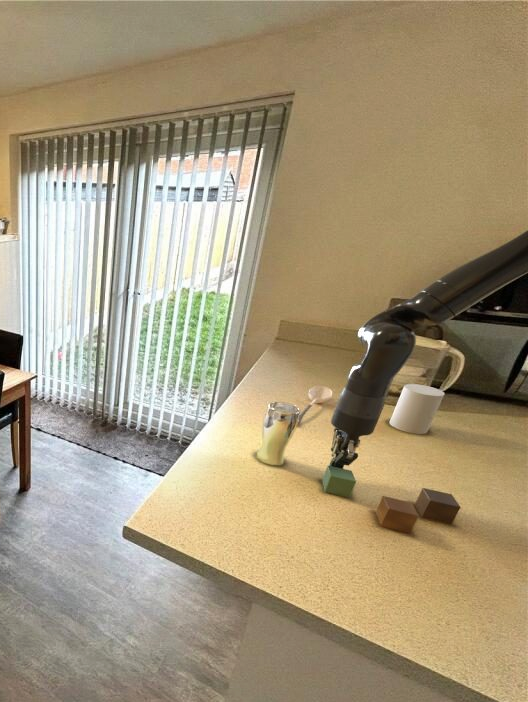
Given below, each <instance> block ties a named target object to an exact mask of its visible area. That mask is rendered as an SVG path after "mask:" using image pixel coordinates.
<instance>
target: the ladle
mask: <svg viewBox="0 0 528 702" xmlns="http://www.w3.org/2000/svg"><path fill="white" fill-rule="evenodd" d="M332 397H333V391H332V389H330V388H329V387H326V386H324V385H323V386H321V385H318V386H317V385H316V386H314V387H311V388H309V391H308V398H309V400H310V401H311V402H310V403H309V404H308V405H306V406H305V408H304V409H303V410H302V411H301V412H300V415H299V420H298V424H297V426H299V425H300V423H301V421H302V419H303V418H304V416H305V415H306V413H307V412H308V411H309V410H310V409H311V408H312V406H313V405H314V404H315V403H316V404H323V403H326V402H327V401H329V400H330V399H331V398H332Z"/></svg>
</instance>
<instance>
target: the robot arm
mask: <svg viewBox="0 0 528 702" xmlns="http://www.w3.org/2000/svg"><path fill="white" fill-rule="evenodd" d="M526 274H528V229H527V230H526V231H524V232H523V233H521V234H518V236H516V237H514V238H513V239H511V240H509V241H507V242H506V243H504V244H502V245H500V246H498V247H496V248H493V249H492V250H490V251H488V252H486V253H484V254H482V255H480V256H478V257H476V258H473V259H471V260H469V261H468V262H465V263H464V264H462V265H460V266H458V267H456V268H455V269H452V270H451V271H449V272H447V273H446V274H445V275H443V276H441V277H440V278H438V279H437V280H435V281H434V282H432V283H431V284H430V285H427V286H426V287H424V289H422V290H421V291H419V292H418V293H416V294H415V295H414V296H412V297H411V298H409V299H407V300H405V301H402V302H400V303H398V304H395V305H394V306H391V307H389V308H387V309H385V310H383V311H381V312H380V313H377V314H375V315H374V316H372V317H371V318H370V319H368V320H367V321H366V322H365V323H364V324H363V325H362V326H361V327H360V328H359V330H358V332H357V341H358V342H359V344H360V346H362V347H363V348H365V349H366V350H367V351H366V354H365V356H364V358H363V360H362V361H360V362H357V363H355V364H354V365H353V366H352V367H351V369H350V371H349V374H348V376H347V379H346V381H345V385H344V387H343V390H342V391H341V392H340V394H339V397H338V401H337V403H336V405H335V409H334V411H333V414H332V416H331V420H330V423H331V425H332V426H333V428H334V429H333V436H332V443H331V448H330V452H332V453H331V455H330V456H331V460H330V463H329V465H328V466H332V467H337V468H342V469H344V466H347V467H349V466H350V465H351V464H353V462H355V461H356V460H357V459H358V457H359V453H358V452H356V450H357V448H359V447H360V444H361V439H360V437H362V436H363V437H364V436H370V435H372V434H373V433H374V432H375V429H376V426H377V424H378V422H379V419H380V417H381V414H382V412H383V409H384V407H385V404H386V399H387V396H388V394H389V391H390V389H391V386H392V383H393V380H394V378H395V377H396V376H397V374H398V373H399V372H400V371H401V370H402V369H403V368H404V366H405V365H406V363H407V362H408V361H409V360H410V358H411V357H412V355H413V353H414V351H415V348H416V345H417V337H416V334H415V331H416V330H418V329H420V328H422V327H425V326H440V325H442V324H444V323H447V322H448V321H450V320H451V319H454V318H455V317H456V316H459V315H460V314H461V313H463V312H464V311H466V310H468V309H469V308H471V307H472V306H474V305H476V304H477V303H479V302H480V301H482V300H484V299H485V298H487V297H489V296H490V295H492V294H494V293H495V292H497V291H498V290H500V289H502V288H503V287H505V286H507V285H509V284H510V283H512V282H513V281H516V280H517V279H519V278H521V277H523V276H524V275H526Z"/></svg>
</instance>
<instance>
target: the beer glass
mask: <svg viewBox="0 0 528 702" xmlns="http://www.w3.org/2000/svg"><path fill="white" fill-rule="evenodd" d="M300 414H301V409H300V407H298V406H297V405H295V404H292V403H289V402H285V401H271V402H269V403H268V406H267V409H266V411H265V414H264V418H263V422H262V433H261V443H260V447H259V448H258V451H257V452H256V458H257V459H258V460H259V461H260V462H262V463H264V464H267V465H270V466H281V465H283V464H284V463H285V455H286V454H285V453H286V450H287V447H288V445H289V444H290V442H291V440H292V438H293V437H294V435H295V434H296V433H295V432H296V430H297V428H298V425H299V424H298V421H299V415H300ZM297 424H298V425H297Z"/></svg>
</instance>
